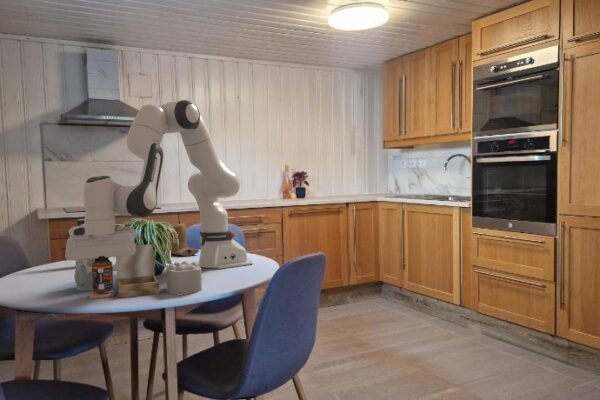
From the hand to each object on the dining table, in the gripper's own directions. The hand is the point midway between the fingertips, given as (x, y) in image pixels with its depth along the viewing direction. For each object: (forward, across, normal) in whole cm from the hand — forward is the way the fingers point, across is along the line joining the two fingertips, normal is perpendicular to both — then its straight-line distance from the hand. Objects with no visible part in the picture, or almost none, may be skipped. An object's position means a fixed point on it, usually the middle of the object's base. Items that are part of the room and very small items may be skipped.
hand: (102, 271), depth 145 cm
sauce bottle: (+8, +7, -56) cm, 57 cm away
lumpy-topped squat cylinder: (+8, -24, +3) cm, 26 cm away
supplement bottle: (+6, 0, 0) cm, 6 cm away
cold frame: (+8, -10, -3) cm, 13 cm away
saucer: (+8, 0, 0) cm, 8 cm away
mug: (+8, +5, -12) cm, 15 cm away
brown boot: (+8, -34, -66) cm, 75 cm away
